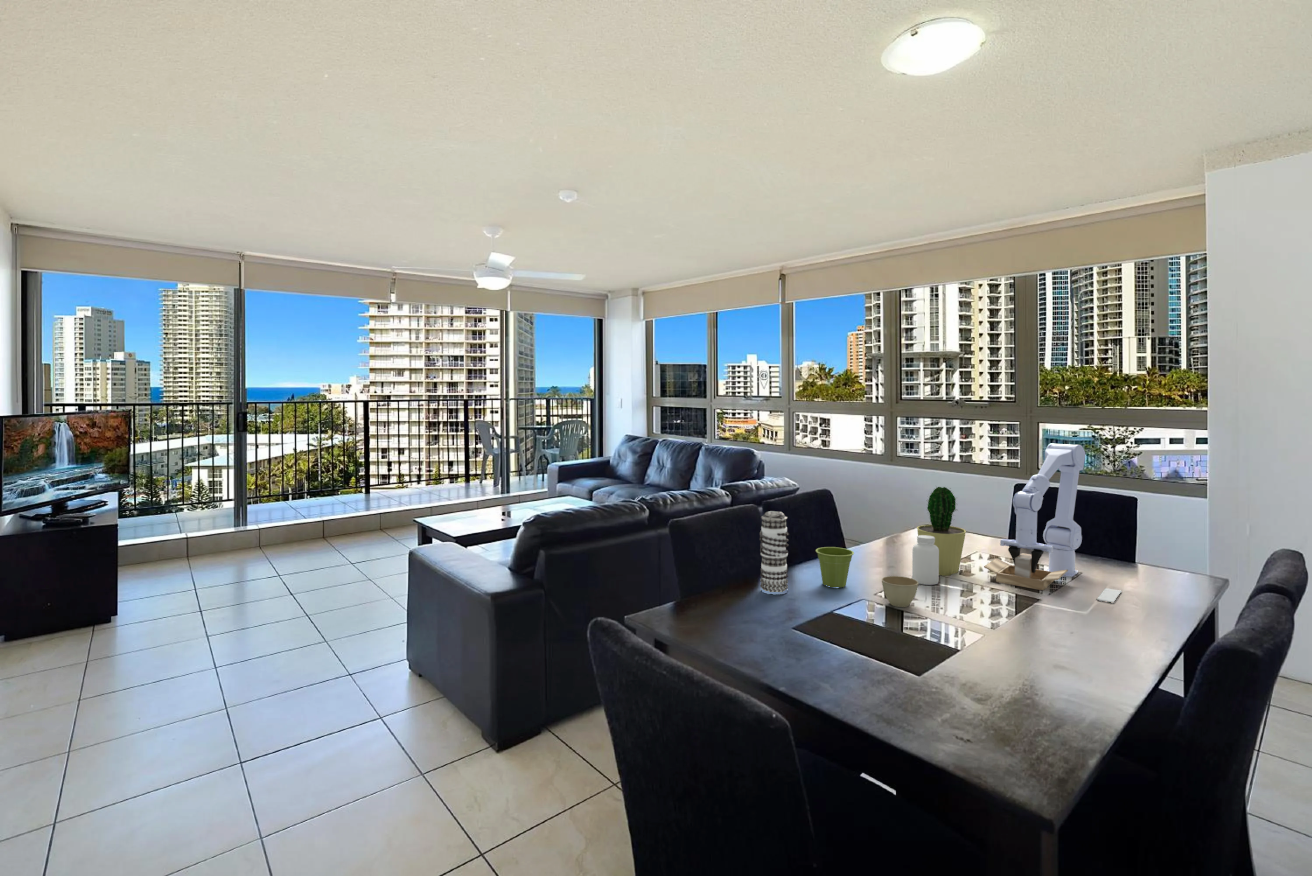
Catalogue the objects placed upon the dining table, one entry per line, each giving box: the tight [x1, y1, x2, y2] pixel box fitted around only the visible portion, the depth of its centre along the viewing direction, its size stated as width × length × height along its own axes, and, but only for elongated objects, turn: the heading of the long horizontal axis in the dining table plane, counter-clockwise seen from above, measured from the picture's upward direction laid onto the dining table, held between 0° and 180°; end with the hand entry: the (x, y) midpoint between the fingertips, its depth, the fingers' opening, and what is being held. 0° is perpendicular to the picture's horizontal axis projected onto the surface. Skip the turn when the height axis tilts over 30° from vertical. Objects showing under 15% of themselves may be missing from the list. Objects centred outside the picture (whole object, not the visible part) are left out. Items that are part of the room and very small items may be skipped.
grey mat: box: [1095, 587, 1122, 604], centre depth 189 cm, size 14×12×1 cm
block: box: [1014, 553, 1036, 578], centre depth 200 cm, size 8×4×6 cm, turn 136°
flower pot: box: [881, 575, 919, 608], centre depth 182 cm, size 10×10×7 cm
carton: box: [983, 558, 1068, 591], centre depth 200 cm, size 13×21×5 cm, turn 46°
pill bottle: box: [911, 535, 940, 586], centre depth 203 cm, size 8×8×15 cm
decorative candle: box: [759, 510, 790, 592], centre depth 195 cm, size 9×9×25 cm
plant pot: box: [815, 546, 855, 588], centre depth 200 cm, size 12×12×11 cm
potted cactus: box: [916, 486, 967, 577], centre depth 214 cm, size 15×15×30 cm
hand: (1025, 570), depth 200 cm, fingers closed on block, 4 cm apart
